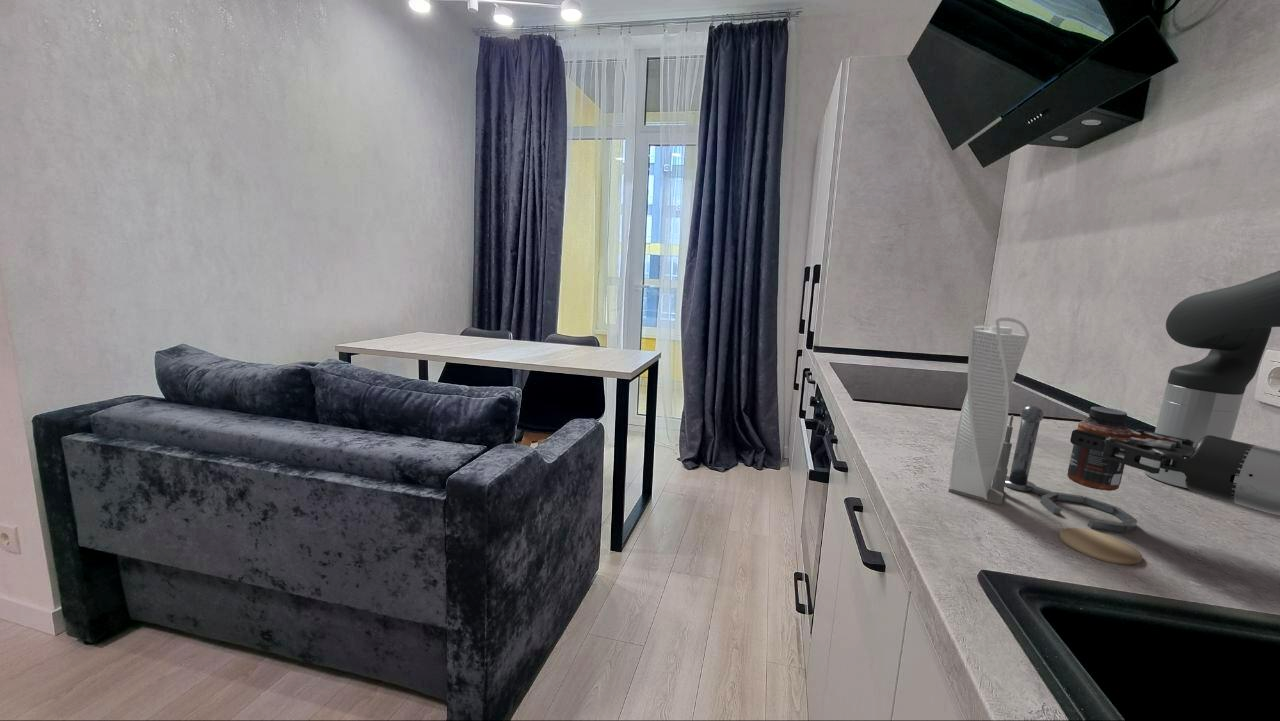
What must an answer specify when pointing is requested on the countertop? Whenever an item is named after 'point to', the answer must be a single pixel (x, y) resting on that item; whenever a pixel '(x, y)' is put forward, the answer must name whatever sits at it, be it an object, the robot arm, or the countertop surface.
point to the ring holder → (1019, 482)
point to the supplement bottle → (1090, 463)
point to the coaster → (1100, 546)
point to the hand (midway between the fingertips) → (1082, 433)
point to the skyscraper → (987, 413)
